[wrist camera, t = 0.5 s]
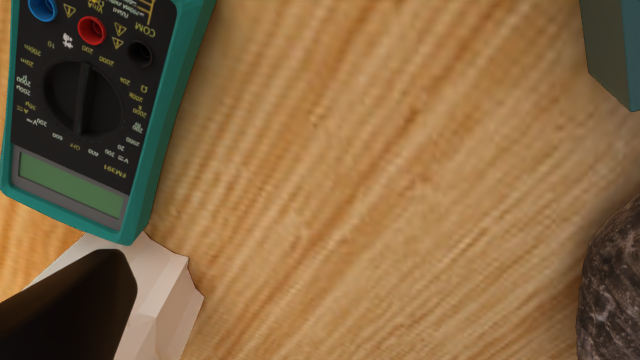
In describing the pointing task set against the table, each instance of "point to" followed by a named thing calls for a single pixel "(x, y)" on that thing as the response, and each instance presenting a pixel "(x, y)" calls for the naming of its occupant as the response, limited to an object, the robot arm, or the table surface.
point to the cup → (147, 297)
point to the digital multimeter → (95, 106)
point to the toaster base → (614, 47)
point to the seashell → (611, 290)
